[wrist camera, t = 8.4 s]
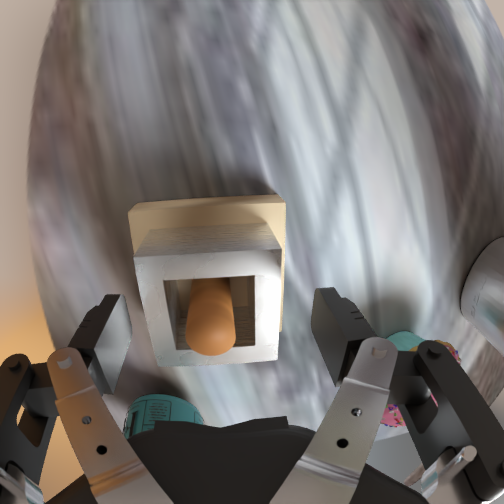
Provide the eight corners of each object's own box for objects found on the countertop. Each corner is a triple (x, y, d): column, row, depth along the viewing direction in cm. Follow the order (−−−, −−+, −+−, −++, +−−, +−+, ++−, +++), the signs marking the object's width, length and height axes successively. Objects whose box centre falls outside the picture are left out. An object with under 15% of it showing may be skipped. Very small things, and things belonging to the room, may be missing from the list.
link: (267, 222, 15) (281, 248, 12) (266, 320, 17) (277, 359, 14) (149, 229, 14) (132, 257, 11) (166, 325, 17) (158, 366, 14)
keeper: (277, 194, 17) (317, 236, 10) (275, 313, 20) (301, 390, 13) (137, 203, 16) (91, 250, 9) (157, 320, 19) (139, 400, 13)
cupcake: (395, 299, 21) (489, 409, 10) (444, 327, 23) (517, 410, 12) (331, 377, 23) (382, 495, 12) (389, 390, 26) (439, 480, 15)
